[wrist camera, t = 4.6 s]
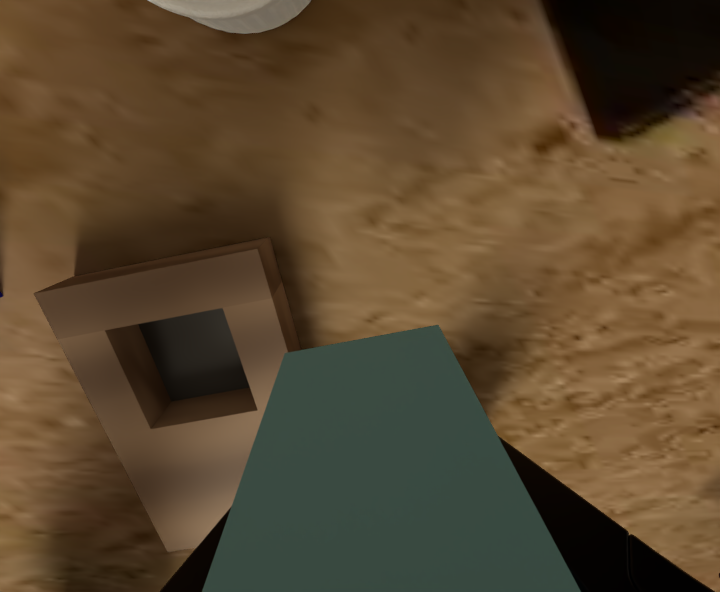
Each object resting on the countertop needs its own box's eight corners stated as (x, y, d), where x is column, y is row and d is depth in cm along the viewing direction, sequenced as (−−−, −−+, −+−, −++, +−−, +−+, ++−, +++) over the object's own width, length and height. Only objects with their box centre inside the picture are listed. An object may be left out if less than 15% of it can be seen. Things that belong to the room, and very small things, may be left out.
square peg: (455, 450, 11) (676, 1064, 4) (319, 473, 11) (255, 1105, 4) (438, 324, 10) (732, 873, 2) (284, 353, 10) (76, 953, 2)
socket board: (340, 488, 24) (338, 525, 22) (185, 514, 24) (167, 552, 22) (269, 237, 18) (257, 248, 16) (73, 276, 19) (33, 293, 17)
